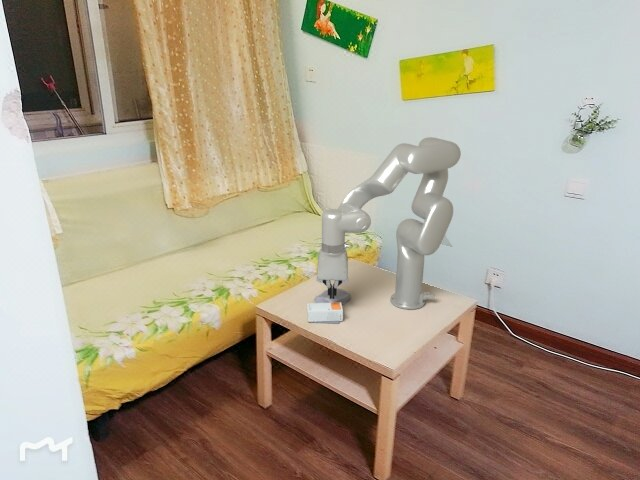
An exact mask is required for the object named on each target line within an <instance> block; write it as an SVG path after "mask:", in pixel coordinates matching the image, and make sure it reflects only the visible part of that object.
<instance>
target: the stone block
mask: <svg viewBox="0 0 640 480" xmlns="http://www.w3.org/2000/svg"><path fill="white" fill-rule="evenodd" d="M350 299H351V293H350V292H348V291H346V290H344V289H341V288H339V287H337V295H336V296H334V299H330V296H329V295H328V289H326V290H324V291H322V292H321V294H318V295H316V296H315V297H314V303H335V302H341V303H342V306H343V305H344V304H346V303H347V302H349V301H350Z"/></svg>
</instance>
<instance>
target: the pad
mask: <svg viewBox="0 0 640 480" xmlns="http://www.w3.org/2000/svg"><path fill="white" fill-rule="evenodd" d="M315 324H328V325H329V324H332V325H339V324H340V321H322V322H315Z"/></svg>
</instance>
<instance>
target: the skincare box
mask: <svg viewBox="0 0 640 480" xmlns="http://www.w3.org/2000/svg"><path fill="white" fill-rule="evenodd" d="M306 306H307V308H306V310H307V311H306V313H307V321H308V323H310V322H311V323H313V322H314V323H316V322H322V321H339V322H343V321H344V309H343V305H342V303H341V302H335V303H315V302H311V303H310V302H307V305H306Z"/></svg>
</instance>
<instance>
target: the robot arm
mask: <svg viewBox="0 0 640 480" xmlns="http://www.w3.org/2000/svg"><path fill="white" fill-rule="evenodd" d="M461 154H462V153H461V148H460V147H459V145H458V143H457V144H456V142H453V141H452V140H451V141H450V140H447V139H441V138H437V137H429V136H427V137H424V138H422V139H421V140H420V142H419V144H418V145H414V144H411V143H406V142H405V143H399V144H397V145H396V146H394V148H393V149H392V150H391V151H390V153H389V154H388V155H387V156H386V158H385V159H384V160H383V161H382V163H381V164H380V166H379V167H378V168H377V169H376V171H375V172H374V173H373V174H372V176H370V177H369V178H367V179H366V180H364V181H362V182H361V183H359V184H358V185H357V186H355V187H354V188H352V190H350V192H348V194H347V195H346V196H345V197H344V199H343V200H342V201H341V202H340V204H339V206H338V208H331V209H330V208H329V209H325V210H324V211H323V212H322V215H321V248H320V249H319V251H318V254H317V255H318V256H317V257H318V258H317V268H316V269H317V271H316V272H317V275H316V282H318V283H322V284H323V285H324V286H326V288H327V290H328V295H329V296H330V299H334V296H336V295H337V288H339V286H340V285H341V284H344V283H345V284H346V283H349V276H348V274H349V259H348V252H347V249H349V248H350V244H349V243H346V241H345V240H346V233H348V234H350V233H351V234H360V233H364V232H366V231H367V230H368V229H370V227H371V224H372V219H371V216H370V215H369V214H368V212H366V211H365V210H363V209H362V208H363V207H364V206H365V205H366V204H367V203H368V202H369V201H371V200H373V199H376V198H378V197H383V196H387V195H390V194H392V193H393V192H394V191H395V190H396V188H397V186H399V184H400V183H401V182H402V180H403V179H404V178H405V177H406V175H408V173H410V174H414V175H422V178H421V181H420V183H419V186H418V188H417V190H416V192H415V195H414V197H413V200H412V203H411V207H410V208H411V211H412V213H414V215H415V216H417V217H418V218H421V219H423V220H424V221H423V222H421V221H420V220H417V219H414V218H406V219H404V220H402V221H401V222H400V223H399V224H398V225H397V227H396V234H395V236H396V238H395V239H396V245H397V247H396V248H397V256H396V257H397V258H396V260H397V261H396V271H395V272H396V273H395V274H396V275H395V289H394V293H392V294H391V296H390V299H389V300H390V303H391V304H392V305H393V306H395V307H397V308H400V309H403V310H418V309H421V308H422V307H424V306H425V304H426V300H430V301H431V300H432V301H433V300H435V294H432V293H431V291H423V280H424V279H423V277H424V269H425V268H424V267H425V256H430V255H433V254H435V252H437V251H438V249H439V248H440V246H441V244H442V243H443V240H444V238H445V236H446V234H447V231H448V229H449V226H450V224H451V222H452V219H453V216H454V206H453V203H452V202H451V200H450V199H449V198H448V197H445V196H444V193H445V189H446V187H447V184H448V181H449V169H451V168H453V167H454V166H456V165H457V164H458V163H459V161H460V159H461ZM331 281H334V282H333V284H332V282H331Z"/></svg>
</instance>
